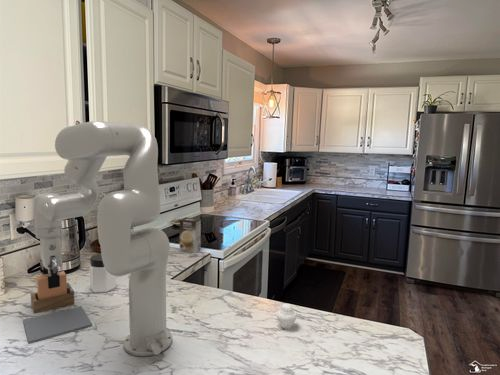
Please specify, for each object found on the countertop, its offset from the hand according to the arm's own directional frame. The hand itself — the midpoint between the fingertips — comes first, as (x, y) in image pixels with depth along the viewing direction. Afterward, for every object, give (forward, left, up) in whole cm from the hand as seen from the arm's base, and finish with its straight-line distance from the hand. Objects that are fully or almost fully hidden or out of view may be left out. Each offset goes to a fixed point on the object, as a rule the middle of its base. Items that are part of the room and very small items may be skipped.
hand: (51, 282), depth 116 cm
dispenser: (0, 0, -8) cm, 8 cm away
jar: (+4, -17, -8) cm, 19 cm away
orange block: (0, 0, -8) cm, 8 cm away
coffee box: (+27, -65, -8) cm, 71 cm away
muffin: (-55, -54, -8) cm, 78 cm away
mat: (-15, +1, -8) cm, 17 cm away
